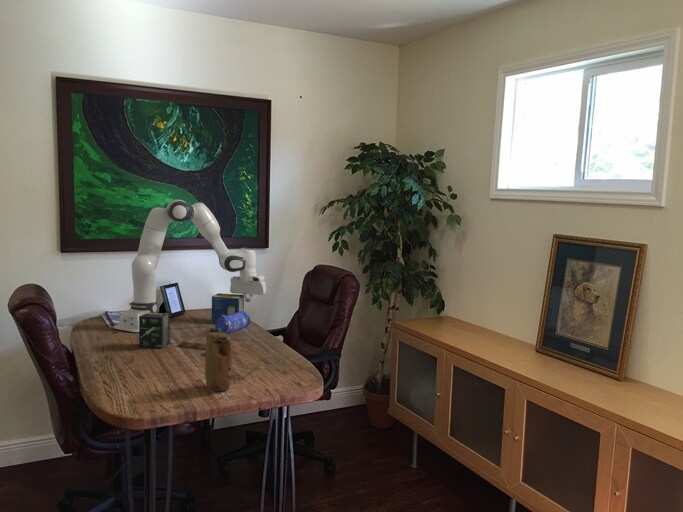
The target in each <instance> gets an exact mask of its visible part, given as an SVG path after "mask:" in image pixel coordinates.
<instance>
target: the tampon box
mask: <svg viewBox="0 0 683 512" xmlns="http://www.w3.org/2000/svg"><path fill="white" fill-rule="evenodd" d="M170 314H171V313H165V312H164V313H163V312H156V313H146V314H144V315H141V316H139V332H138V335H139V337H138V338H139V339H138V340H139V341H138V345H139V346H138V347H139V348H144V349H163V348H165V347H166V346H168V345H169V344H171V324H170V323H171V322H170V321H171V320H170Z"/></svg>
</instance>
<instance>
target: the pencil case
mask: <svg viewBox="0 0 683 512" xmlns="http://www.w3.org/2000/svg"><path fill="white" fill-rule="evenodd" d="M250 324H251V316H250V314H249V313H247V312H246V311H244V312H243V311H239V312H237V313H235V314H233V315H229V316H224V315H223V316H222V317H220V318H219V319H218V320H217V321H216V323H215V324H214V328H215V329H214V330H215V331H216V333H219V332H223V333H226V334H227V335H228V334H230V333H235V332H237V331H240V330H241V329H243V328H246V327H248V326H249V325H250Z"/></svg>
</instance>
